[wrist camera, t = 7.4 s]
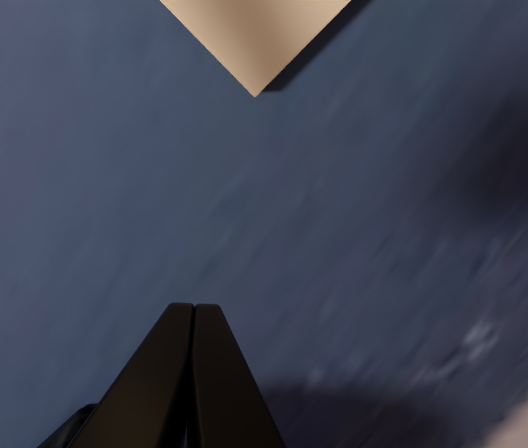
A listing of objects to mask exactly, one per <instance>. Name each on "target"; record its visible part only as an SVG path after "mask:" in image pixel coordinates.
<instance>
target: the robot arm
mask: <svg viewBox="0 0 528 448" xmlns="http://www.w3.org/2000/svg"><path fill="white" fill-rule="evenodd" d="M187 417H188V421H187ZM85 418H87V419H85ZM186 426H187V448H287V447H286V445H285V443H284V441H283V439H282V437H281V434H280V432H279V430H278V428H277V426H276V424H275V422H274V420H273V418H272V415H271V413H270V411H269V409H268V407H267V405H266V403H265V401H264V399H263V396H262V394H261V392H260V390H259V388H258V386H257V384H256V382H255V379H254V377H253V375H252V373H251V371H250V369H249V367H248V365H247V363H246V360H245V358H244V356H243V354H242V352H241V350H240V348H239V346H238V344H237V341H236V339H235V337H234V335H233V333H232V331H231V329H230V327H229V324H228V322H227V320H226V318H225V316H224V314H223V312H222V310H221V308H220V307H219V305H217V304H197V305H196V306H195V308H194V305H193V304H192V303H171V304H169V305H168V307H167V308H166V309H165V311H164V312H163V314H162V315H161V316H160V318H159V319H158V321H157V322H156V323H155V325H154V326H153V328H152V329H151V330H150V332H149V333H148V335H147V336H146V337H145V339H144V340H143V341H142V343H141V344H140V346H139V347H138V348H137V350H136V351H135V353H134V354H133V355H132V357H131V358H130V360H129V361H128V362H127V364H126V365H125V367H124V368H123V369H122V371H121V372H120V374H119V375H118V376H117V378H116V379H115V381H114V382H113V383H112V385H111V386H110V388H109V389H108V390H107V392H106V393H105V395H104V396H103V397H102V399H101V400H100V402H99V403H98V404H97V406H96V407H95V409H94V410H93V409H91V408H81V409H79V410H78V411H77V412H76V413H75V414H74V415H72V416H71V417H70V418H69V419H68V420H67V421H66V422H65V423H64V424H63V425H61V426H60V427H59V428H58V429H57V430H56V431H55V432H54V433H53V434H52V435H50V436H49V437H48V438H47V439H46V440H45V441H44V442H43V443H42V444H41V445H39V446H38V447H37V448H183V446H184V440H185V434H186Z"/></svg>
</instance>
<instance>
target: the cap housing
mask: <svg viewBox="0 0 528 448" xmlns="http://www.w3.org/2000/svg"><path fill="white" fill-rule="evenodd" d="M160 1H161V2H162V3H163V4H164V5H165V6H166V7H167V8H168V9H169V10H170V11H171V12H172V13H173V14H174V15H175V16H176V17H177V18H178V19H179V20H180V21H181V22H182V23H183V24H184V26H185V27H186V28H187V29H188V30H189V31H190V32H191V33H192V34H193V35H194V36H195V37H196V38H197V39H198V40H199V41H200V42H201V43H202V44H203V45H204V46H205V47H206V48H207V49H208V50H209V51H210V52H211V53H212V54H213V55H214V56H215V57H216V58H217V59H218V60H219V61H220V62H221V63H222V64H223V65H224V67H225V68H226V69H227V70H228V71H229V72H230V73H231V74H232V75H233V76H234V77H235V78H236V79H237V80H238V81H239V82H240V83H241V84H242V85H243V86H244V87H245V88H246V89H247V90H248V91H249V92H250V93H251V94H252V95H253V96H254V97H256V96H257V95H258V94H259V93H260V92H261V91H262V90H263V89H264V88H265V87H266V86H267V85H268V84H269V83H270V82H271V81H272V80H273V79H274V78H275V77H276V76H277V75H278V74H279V73H280V72H281V71H282V70H283V69H284V68H285V67H286V65H287V64H288V63H289V62H290V61H291V60H292V59H293V58H294V57H295V56H296V55H297V54H298V53H299V52H300V51H301V50H302V49H303V48H304V47H305V46H306V45H307V44H308V43H309V42H310V41H311V40H312V39H313V38H314V37H315V36H316V35H317V34H318V33H319V32H320V31H321V30H322V29H323V28H324V27H325V26H326V25H327V24H328V23H329V22H330V21H331V20H332V19H333V18H334V17H335V16H336V15H337V14H338V13H339V12H340V11H341V10H342V9H343V8H344V7H345V6H346V5H347V4H348V3H349V2H350V1H351V0H160Z"/></svg>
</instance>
